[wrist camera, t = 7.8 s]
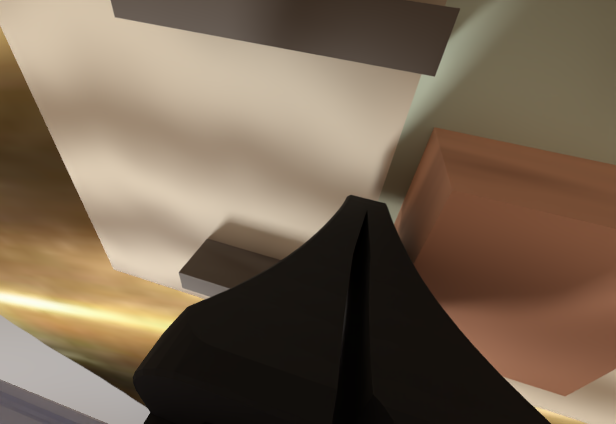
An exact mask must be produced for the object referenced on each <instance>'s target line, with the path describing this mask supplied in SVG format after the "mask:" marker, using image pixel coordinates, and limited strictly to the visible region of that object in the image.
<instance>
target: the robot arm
mask: <svg viewBox="0 0 616 424" xmlns="http://www.w3.org/2000/svg"><path fill="white" fill-rule="evenodd" d="M133 383H134V386H135V389H136V391H137V392H138V394H139V395H140V397H141V399H142V400H143V402H144V403H145V405H146V406H147V408H148V409H149V411H150V414H149V416H148V417H147V419H146V420H145V422H144V424H551V423H550V422H549V421H548V420H547V419H546V418H545V417H544V416H543V415H542V414H541V413H539V412H538V411H537V410H536V409H535V408H534V407H533V406H532V405H531V404H530V403H529V402H528V401H527V400H526V399H525V398H524V397H523V396H522V395H521V394H520V393H519V392H518V391H517V390H516V389H515V388H514V387H513V386H512V385H511V384H510V383H509V382H508V381H507V380H506V379H505V378H504V377H503V376H502V375H501V374H500V373H499V372H498V371H497V370H496V369H495V368H494V367H493V366H492V365H491V364H490V363H489V361H488V360H487V359H486V358H485V357H484V356H483V355H482V354H481V353H480V352H479V351H478V350H477V348H476V347H475V346H474V345H473V344H472V343H471V342H470V341H469V339H468V338H467V337H466V336H465V335H464V334H463V333H462V331H461V330H460V329H459V328H458V326H457V325H456V324H455V323H454V321H453V320H452V319H451V318H450V317H449V315H448V314H447V313H446V312H445V310H444V309H443V308H442V306H441V305H440V304H439V302H438V301H437V300H436V298H435V297H434V296H433V294H432V293H431V291H430V290H429V288H428V287H427V285H426V284H425V282H424V281H423V279H422V278H421V276H420V274H419V273H418V271H417V269H416V268H415V266H414V264H413V262H412V261H411V259H410V257H409V255H408V253H407V251H406V249H405V247H404V245H403V243H402V241H401V239H400V237H399V235H398V232H397V230H396V228H395V225H394V223H393V220H392V218H391V215H390V212H389V209H388V207H387V205H386V203H382V202H378V201H374V200H370V199H366V198H362V197H358V196H354V195H349V196H347V197H346V199H345V201H344V203H343V204H342V206H341V207H340V208H339V210H338V211H337V212H336V213H335V214H334V215H333V217H332V218H331V219H330V220H329V221H328V222H327V223H326V224H325V225H324V226H323V227H322V228H321V229H320V230H319V231H318V232H317V233H316V234H314V235H313V236H312V237H311V238H310V239H309V240H308V241H306V242H305V243H304V244H303V245H302V246H300V247H299V248H298V249H296V250H295V251H294V252H292V253H291V254H289V255H288V256H286V257H285V258H283V259H282V260H280V261H279V262H277V263H276V264H274V265H273V266H271V267H269V268H268V269H266V270H264V271H263V272H261V273H259V274H257V275H255V276H253V277H251V278H250V279H248V280H246V281H244V282H242V283H240V284H238V285H236V286H234V287H232V288H230V289H228V290H226V291H223V292H221V293H219V294H216V295H214V296H212V297H210V298H207V299H205V300H203V301H200V302H198V303H196V304H193V305H191V306H188V307H187V308H186V309H185V310H184V311H183V312H182V313H181V314H180V315H179V317H178V318H177V319H176V320H175V321H174V322H173V323H172V324H171V325H170V326H169V328H168V329H167V330H166V331H165V332H164V333H163V334H162V336H161V337H160V338H159V340H158V341H157V342H156V344H155V345H154V347H153V348H152V349H151V351H150V352H149V353H148V355H147V356H146V357H145V359H144V360H143V362H142V363H141V364H140V366H139V367H138V368H137V370H136V371H135V373H134V376H133ZM0 424H107V423H105V422H103V421H100V420H98V419H95V418H92V417H90V416H88V415H85V414H83V413H80V412H78V411H76V410H73V409H71V408H68V407H66V406H64V405H61V404H58V403H56V402H54V401H51V400H49V399H46V398H44V397H42V396H39V395H37V394H34V393H32V392H29V391H27V390H25V389H22V388H20V387H17V386H15V385H12V384H10V383H7V382H5V381H2V380H0Z"/></svg>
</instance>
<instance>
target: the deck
mask: <svg viewBox="0 0 616 424" xmlns="http://www.w3.org/2000/svg"><path fill="white" fill-rule="evenodd" d="M0 26H1V28H2V30H3V32H4V35H5V37H6V39H7V41H8V43H9V45H10V47H11V50H12V52H13V54H14V56H15V58H16V60H17V63H18V65H19V67H20V69H21V71H22V73H23V75H24V78H25V80H26V82H27V84H28V86H29V88H30V90H31V93H32V95H33V97H34V99H35V101H36V103H37V106H38V108H39V110H40V112H41V114H42V116H43V118H44V121H45V123H46V125H47V127H48V129H49V131H50V133H51V136H52V138H53V140H54V142H55V144H56V146H57V149H58V151H59V153H60V155H61V157H62V159H63V161H64V164H65V166H66V168H67V170H68V172H69V174H70V176H71V179H72V181H73V183H74V185H75V187H76V189H77V191H78V194H79V196H80V198H81V200H82V202H83V204H84V207H85V209H86V211H87V213H88V215H89V217H90V219H91V222H92V224H93V226H94V228H95V230H96V232H97V234H98V237H99V239H100V241H101V243H102V245H103V247H104V250H105V252H106V254H107V256H108V258H109V260H110V262H111V265H112V267H113V269H114V270H117V271H120V272H123V273H126V274H129V275H132V276H136V277H139V278H142V279H145V280H148V281H151V282H154V283H157V284H160V285H163V286H166V287H169V288H172V289H176V290H179V291H182V292H185V293H188V294H191V295H194V296H197V297H200V298H203V299H207V298H210V297H212V296H214V295H216V294H219V293H221V292H223V291H226V290H228V289H230V288H232V287H234V286H236V285H238V284H240V283H242V282H244V281H246V280H248V279H250V278H251V277H253V276H255V275H257V274H259V273H261V272H263V271H264V270H266V269H268V268H269V267H271V266H273V265H274V264H276V263H277V262H279V261H280V260H282V259H283V258H285V257H286V256H288V255H289V254H291V253H292V252H294V251H295V250H296V249H298V248H299V247H300V246H302V245H303V244H304V243H305V242H306V241H308V240H309V239H310V238H311V237H312V236H313V235H314V234H316V233H317V232H318V231H319V230H320V229H321V228H322V227H323V226H324V225H325V224H326V223H327V222H328V221H329V220H330V219H331V218H332V217H333V215H334V214H335V213H336V212H337V211H338V210H339V208H340V207H341V206H342V204H343V203H344V201H345V199H346V197H347V196H349V195H354V196H358V197H362V198H366V199H370V200H374V201H378V202H382V203H386V205H387V207H388V209H389V212H390V215H391V218H392V220H393V223H395V221H396V218H397V216H398V213H399V211H400V209H401V206H402V204H403V201H404V199H405V196H406V194H407V192H408V189H409V187H410V184H411V182H412V180H413V177H414V175H415V172H416V170H417V167H418V165H419V163H420V160H421V158H422V155H423V153H424V150H425V148H426V146H427V143H428V141H429V138H430V136H431V134H432V131H433V129H434V127H436V128H441V129H445V130H450V131H455V132H460V133H465V134H469V135H474V136H479V137H484V138H488V139H493V140H498V141H503V142H508V143H512V144H517V145H522V146H527V147H532V148H536V149H541V150H546V151H551V152H555V153H560V154H565V155H570V156H575V157H579V158H584V159H589V160H594V161H599V162H603V163H608V164H613V165H616V0H0ZM504 378H505V377H504ZM505 379H506V380H507V381H508V382H509V383H510V384H511V385H512V386H513V387H514V388H515V389H516V390H517V391H518V392H519V393H520V394H521V395H522V396H523V397H524V398H525V399H526V400H527V401H528V402H529V403H530V404H531V405H533V406H536V407H539V408H542V409H545V410H548V411H551V412H554V413H557V414H560V415H563V416H566V417H569V418H573V419H576V420H579V421H582V422H585V423H588V424H616V369H615V370H613V371H611V372H609V373H608V374H606V375H604V376H602V377H600V378H598V379H597V380H595V381H593V382H591V383H589V384H587V385H586V386H584V387H582V388H580V389H578V390H576V391H574V392H573V393H571V394H569V395H567V396H562V395H559V394H556V393H553V392H549V391H546V390H543V389H540V388H537V387H534V386H530V385H527V384H524V383H521V382H518V381H515V380H512V379H508V378H505Z"/></svg>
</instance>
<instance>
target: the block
mask: <svg viewBox="0 0 616 424" xmlns="http://www.w3.org/2000/svg"><path fill="white" fill-rule="evenodd" d="M394 225H395V228H396V230H397V232H398V235H399V237H400V239H401V241H402V243H403V245H404V247H405V249H406V251H407V253H408V255H409V257H410V259H411V261H412V262H413V264H414V266H415V268H416V269H417V271H418V273H419V274H420V276H421V278H422V279H423V281H424V282H425V284H426V285H427V287H428V288H429V290H430V291H431V293H432V294H433V296H434V297H435V298H436V300H437V301H438V302H439V304H440V305H441V306H442V308H443V309H444V310H445V312H446V313H447V314H448V315H449V317H450V318H451V319H452V320H453V321H454V323H455V324H456V325H457V326H458V328H459V329H460V330H461V331H462V333H463V334H464V335H465V336H466V337H467V338H468V339H469V341H470V342H471V343H472V344H473V345H474V346H475V347H476V348H477V350H478V351H479V352H480V353H481V354H482V355H483V356H484V357H485V358H486V359H487V360H488V361H489V363H490V364H491V365H492V366H493V367H494V368H495V369H496V370H497V371H498V372H499V373H500V374H501V375H502V376H503V377H505V378H508V379H512V380H515V381H518V382H521V383H524V384H527V385H530V386H534V387H537V388H540V389H543V390H546V391H549V392H553V393H556V394H559V395H562V396H567V395H569V394H571V393H573V392H574V391H576V390H578V389H580V388H582V387H584V386H586V385H587V384H589V383H591V382H593V381H595V380H597V379H598V378H600V377H602V376H604V375H606V374H608V373H609V372H611V371H613V370H615V369H616V165H613V164H608V163H603V162H599V161H594V160H589V159H584V158H579V157H575V156H570V155H565V154H560V153H555V152H551V151H546V150H541V149H536V148H532V147H527V146H522V145H517V144H512V143H508V142H503V141H498V140H493V139H488V138H484V137H479V136H474V135H469V134H465V133H460V132H455V131H450V130H445V129H441V128H436V127H434V129H433V131H432V134H431V136H430V138H429V141H428V143H427V146H426V148H425V150H424V153H423V155H422V158H421V160H420V163H419V165H418V167H417V170H416V172H415V175H414V177H413V180H412V182H411V184H410V187H409V189H408V192H407V194H406V196H405V199H404V201H403V204H402V206H401V209H400V211H399V213H398V216H397V218H396V221H395V223H394Z"/></svg>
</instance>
